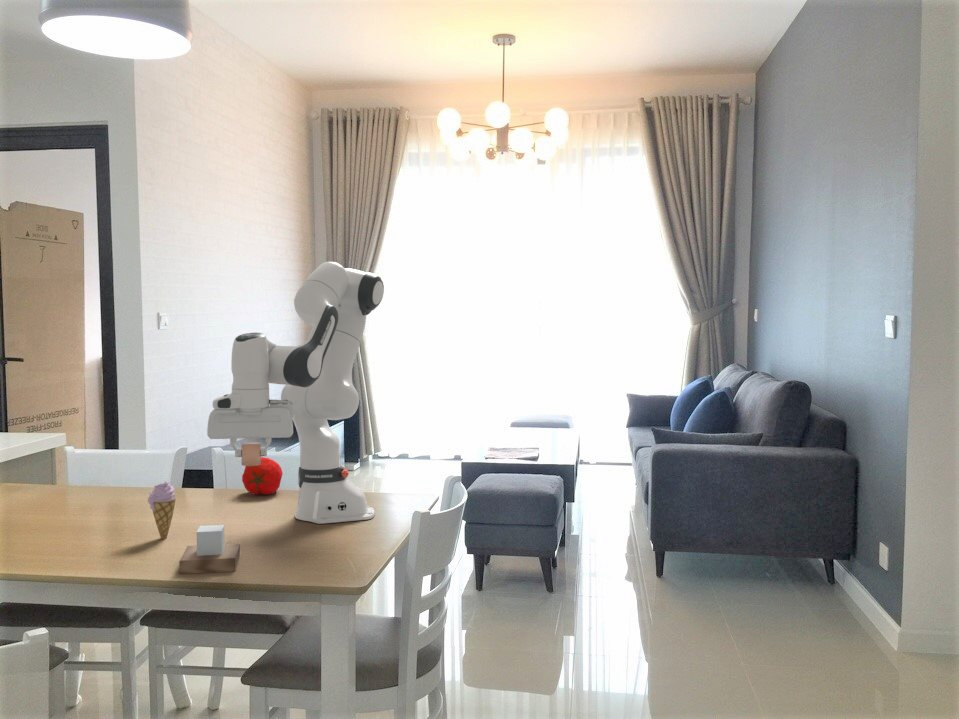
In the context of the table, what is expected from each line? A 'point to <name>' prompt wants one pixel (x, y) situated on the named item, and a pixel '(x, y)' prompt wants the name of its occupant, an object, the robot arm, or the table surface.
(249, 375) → the robot arm
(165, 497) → the ice cream cone
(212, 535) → the white cube
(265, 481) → the tomato
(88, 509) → the table surface
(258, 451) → the peach rounded block
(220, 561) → the walnut plinth
